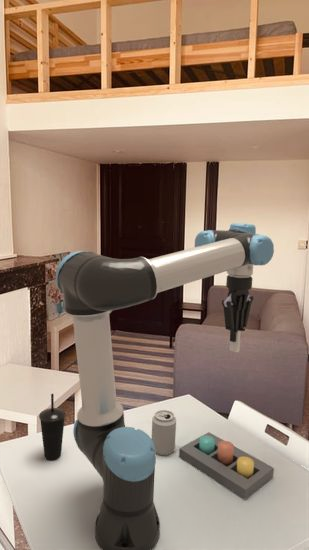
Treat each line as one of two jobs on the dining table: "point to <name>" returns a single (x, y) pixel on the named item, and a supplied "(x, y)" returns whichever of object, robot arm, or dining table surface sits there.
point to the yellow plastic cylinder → (245, 467)
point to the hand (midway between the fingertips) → (234, 350)
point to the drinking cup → (52, 431)
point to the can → (164, 432)
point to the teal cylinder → (207, 444)
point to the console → (227, 468)
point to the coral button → (225, 453)
